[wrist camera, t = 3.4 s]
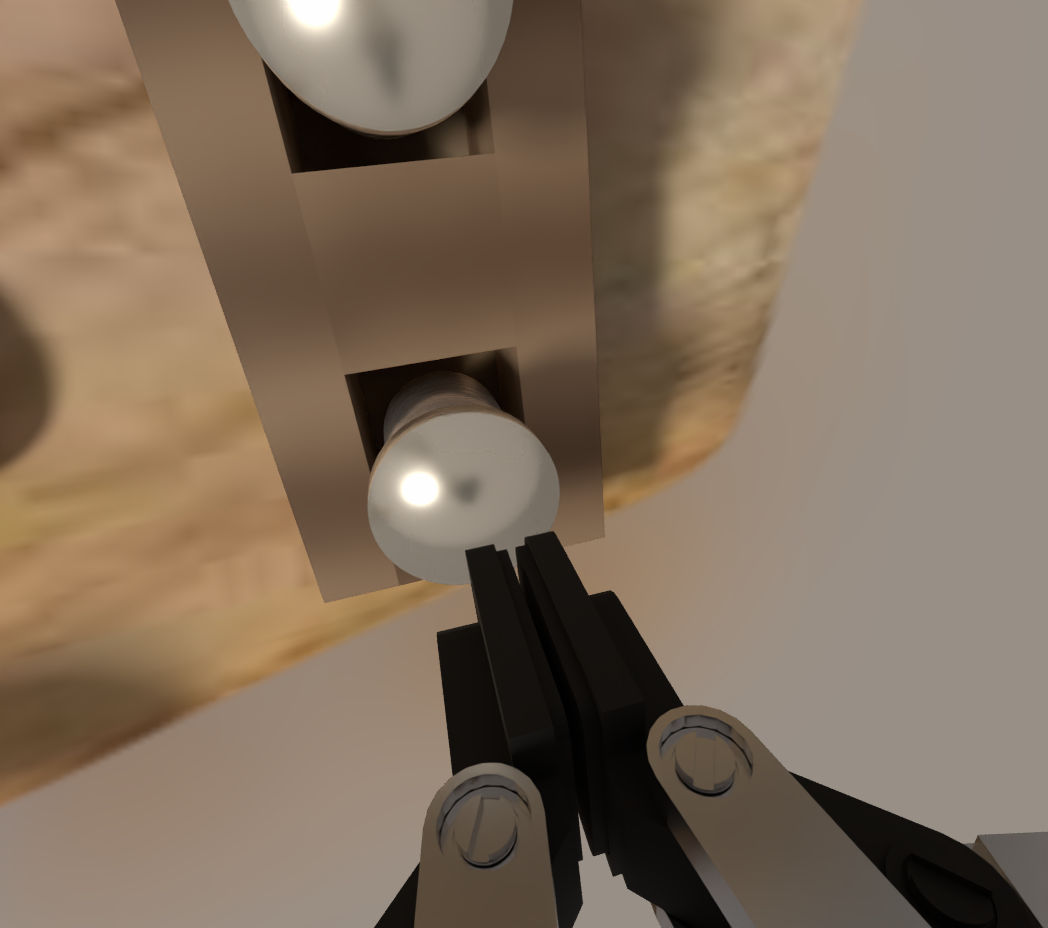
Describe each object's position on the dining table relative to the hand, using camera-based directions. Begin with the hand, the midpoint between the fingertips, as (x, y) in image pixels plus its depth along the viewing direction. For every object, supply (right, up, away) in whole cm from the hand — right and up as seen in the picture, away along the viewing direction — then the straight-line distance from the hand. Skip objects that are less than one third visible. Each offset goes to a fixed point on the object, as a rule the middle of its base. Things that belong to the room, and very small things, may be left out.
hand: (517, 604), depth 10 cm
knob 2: (-3, +4, +7) cm, 9 cm away
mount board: (-4, +10, +8) cm, 13 cm away
